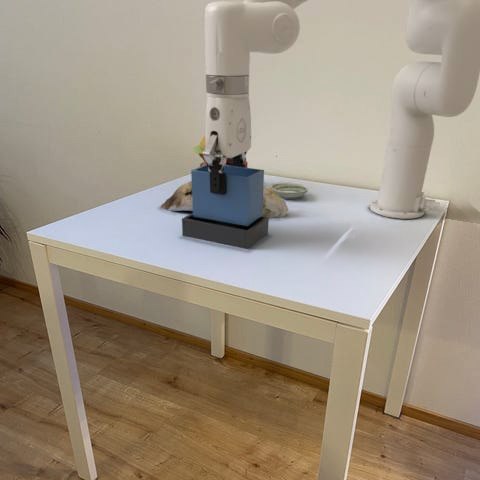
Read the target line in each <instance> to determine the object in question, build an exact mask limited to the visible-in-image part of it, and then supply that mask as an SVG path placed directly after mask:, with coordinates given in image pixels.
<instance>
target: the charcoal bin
mask: <svg viewBox="0 0 480 480" xmlns="http://www.w3.org/2000/svg"><path fill="white" fill-rule="evenodd" d="M269 220H270V218H269V217H264V216H261V217H260V218H258V219H257V220H256V221H254V222H253V223H251V224H250V225H248V226H244V225H238V224H232V223H227V222H221V221H216V220H210V219H204V218H199V217H193V212H191V213H190V214H188V215H186V216H184V217H182V218H181V232H182V234H181V235H182V237H186V238H192V239H197V240H201V241H204V242H205V241H206V242H210V243H216V244H220V245H224V246H230V247H235V248H239V249H243V250H249V249H251V248H252V247H253V246H255V245H256V244H258V243H259V242H260V241H262V239H263V238H265V237H266V236H267V235H269V224H270V223H269V222H270V221H269Z"/></svg>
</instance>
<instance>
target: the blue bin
mask: <svg viewBox="0 0 480 480" xmlns="http://www.w3.org/2000/svg"><path fill="white" fill-rule="evenodd" d="M224 172H225V173H226V194H225V195H220V194H214V193H211V192H210V172H209V171H208V166H207V164H206V165H203V166H201V167H200V166H198V167H195V168H193V169H191V170H190V173H191V175H190V177H191V181H192V202H193V211H192V213H193V217H199V218H204V219H210V220H216V221H221V222H227V223H232V224H238V225H244V226H248V225H250V224H251V223H253V222H254V221H256V220H257V219H258V218H260V217H261V216H262V215H263V187H264V186H265V185H264V183H265V182H264V181H265V170H264V169H259V168H252V167H247V168H245V167H237V166H229V165H225V170H224Z"/></svg>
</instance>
